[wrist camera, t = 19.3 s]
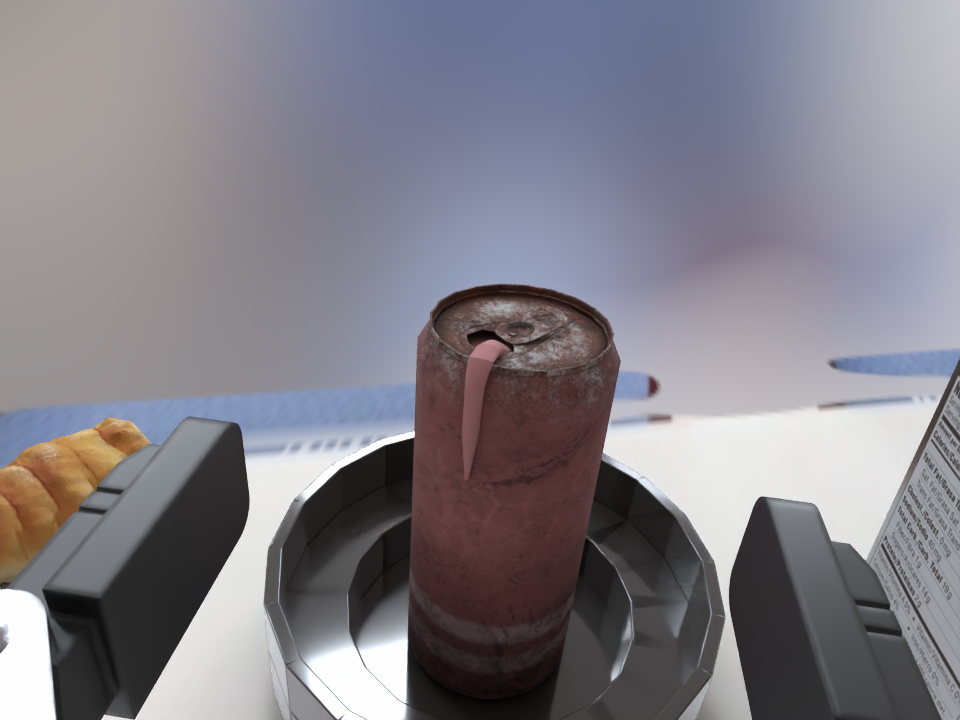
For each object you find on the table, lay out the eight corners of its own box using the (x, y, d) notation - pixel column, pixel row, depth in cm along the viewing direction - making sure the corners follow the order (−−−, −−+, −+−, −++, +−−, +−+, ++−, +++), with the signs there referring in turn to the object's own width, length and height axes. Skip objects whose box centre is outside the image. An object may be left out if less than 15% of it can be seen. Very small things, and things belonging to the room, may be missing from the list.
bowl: (669, 533, 35) (692, 451, 33) (721, 915, 22) (767, 824, 19) (345, 487, 36) (343, 403, 34) (198, 820, 23) (175, 723, 20)
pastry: (-31, 637, 28) (-62, 564, 26) (-95, 547, 31) (-126, 477, 29) (194, 514, 34) (183, 448, 32) (120, 451, 38) (106, 388, 36)
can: (379, 685, 26) (381, 350, 19) (437, 562, 32) (455, 263, 25) (543, 737, 25) (610, 399, 18) (574, 599, 31) (635, 296, 23)
